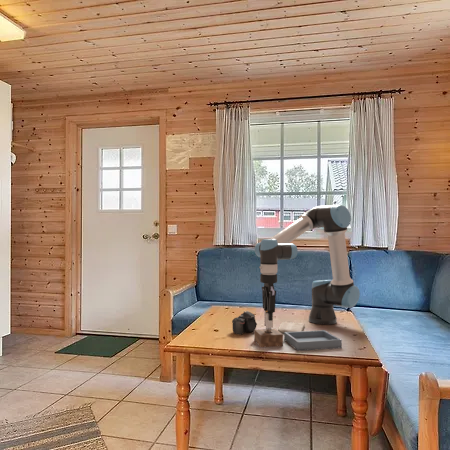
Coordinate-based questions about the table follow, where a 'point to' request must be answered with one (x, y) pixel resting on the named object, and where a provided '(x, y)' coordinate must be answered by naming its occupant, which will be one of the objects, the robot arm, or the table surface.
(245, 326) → the camera
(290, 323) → the washcloth
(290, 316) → the table surface
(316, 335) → the tray
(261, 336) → the block
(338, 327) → the table surface
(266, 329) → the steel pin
